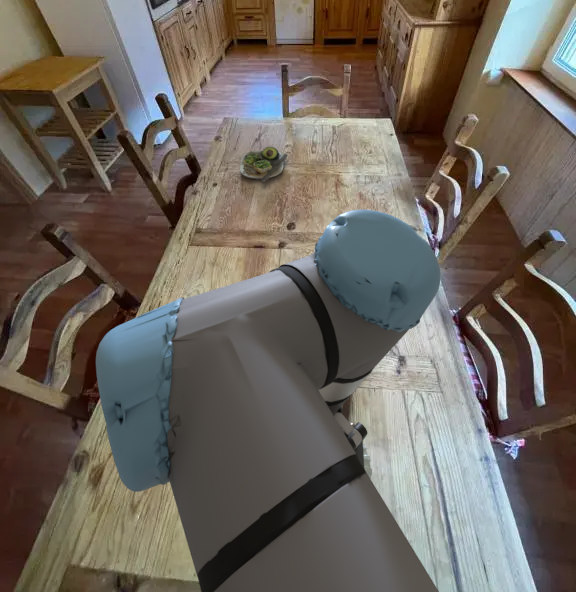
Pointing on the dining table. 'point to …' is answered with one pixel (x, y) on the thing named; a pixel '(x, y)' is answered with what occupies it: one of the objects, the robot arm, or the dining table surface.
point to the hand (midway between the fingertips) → (280, 426)
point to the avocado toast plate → (262, 164)
